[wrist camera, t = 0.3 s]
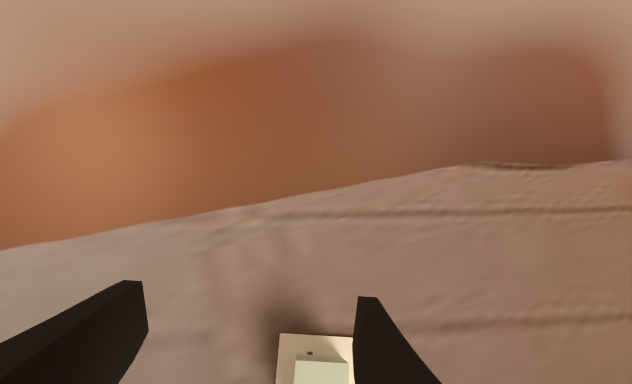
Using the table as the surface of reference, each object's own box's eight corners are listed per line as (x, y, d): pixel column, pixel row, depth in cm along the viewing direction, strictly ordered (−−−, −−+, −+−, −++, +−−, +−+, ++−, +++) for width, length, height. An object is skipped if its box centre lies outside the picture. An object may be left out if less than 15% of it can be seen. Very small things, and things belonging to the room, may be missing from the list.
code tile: (358, 433, 33) (358, 434, 33) (271, 428, 33) (271, 429, 32) (358, 337, 36) (359, 338, 36) (280, 333, 36) (280, 333, 36)
